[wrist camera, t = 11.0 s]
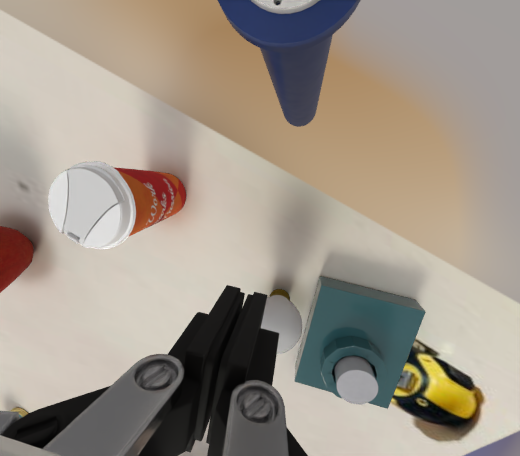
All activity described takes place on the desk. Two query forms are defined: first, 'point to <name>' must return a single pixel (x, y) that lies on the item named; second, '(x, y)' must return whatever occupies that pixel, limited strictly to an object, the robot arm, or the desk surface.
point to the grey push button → (355, 380)
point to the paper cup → (111, 202)
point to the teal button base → (357, 335)
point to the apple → (13, 255)
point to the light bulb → (282, 319)
